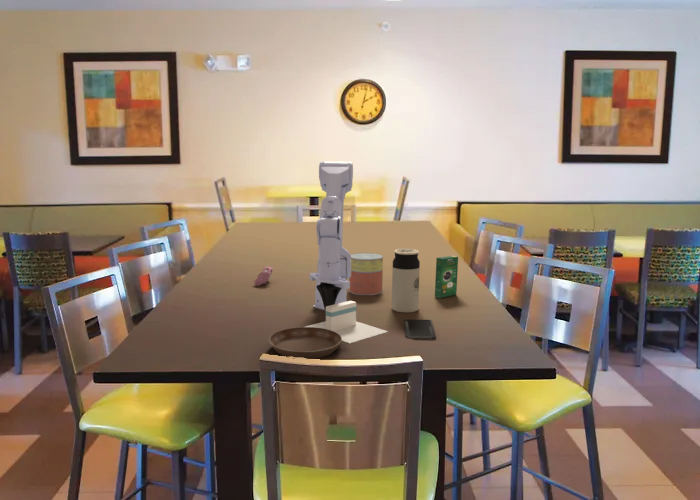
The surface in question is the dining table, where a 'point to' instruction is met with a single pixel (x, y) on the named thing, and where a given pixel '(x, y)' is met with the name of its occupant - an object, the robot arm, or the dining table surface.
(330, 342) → the plant saucer
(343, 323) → the card deck
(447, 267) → the coffee box
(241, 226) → the dining table surface
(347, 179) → the robot arm
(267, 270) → the pink bird figurine
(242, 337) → the dining table surface
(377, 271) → the canned food
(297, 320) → the dining table surface
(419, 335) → the phone
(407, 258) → the travel mug
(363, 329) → the mat
